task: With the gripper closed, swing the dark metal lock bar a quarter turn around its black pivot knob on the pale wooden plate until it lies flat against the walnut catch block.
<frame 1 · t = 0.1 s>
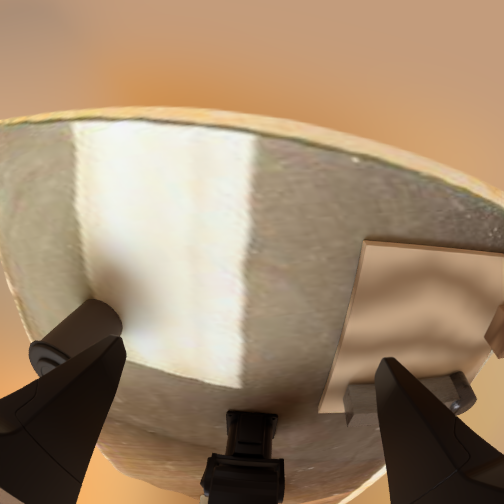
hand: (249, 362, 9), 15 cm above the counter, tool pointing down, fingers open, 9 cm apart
catch block: (497, 321, 24), resting on lock plate
lock plate: (430, 341, 26), on the counter
coffee cup: (102, 318, 29), on the counter
can: (218, 498, 54), on the counter
swing bar: (416, 401, 26), point 4 cm above the counter, hinge at 0.0°
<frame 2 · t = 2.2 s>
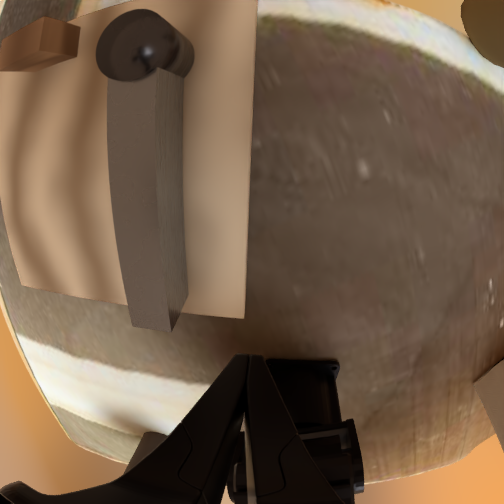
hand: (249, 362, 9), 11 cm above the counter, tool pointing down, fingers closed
catch block: (56, 49, 13), resting on lock plate
lock plate: (92, 159, 17), on the counter
coffee cup: (162, 440, 33), on the counter
paper towel roll: (499, 368, 24), on the counter
swing bar: (147, 176, 14), point 4 cm above the counter, hinge at 0.0°
squeeze bottle: (486, 31, 11), on the counter
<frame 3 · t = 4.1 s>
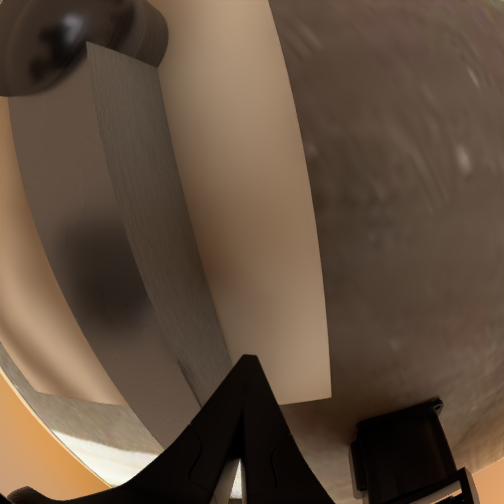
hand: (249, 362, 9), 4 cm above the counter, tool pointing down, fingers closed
lock plate: (61, 233, 11), on the counter
coffee cup: (241, 502, 26), on the counter
swing bar: (131, 260, 8), point 4 cm above the counter, hinge at -2.0°, touching gripper
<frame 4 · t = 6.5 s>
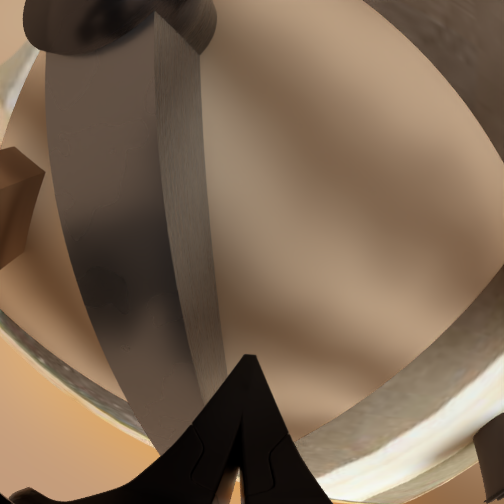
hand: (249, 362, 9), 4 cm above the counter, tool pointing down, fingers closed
catch block: (16, 201, 10), resting on lock plate
lock plate: (212, 253, 11), on the counter
coffee cup: (491, 425, 20), on the counter
swing bar: (149, 249, 7), point 4 cm above the counter, hinge at -51.4°, touching gripper
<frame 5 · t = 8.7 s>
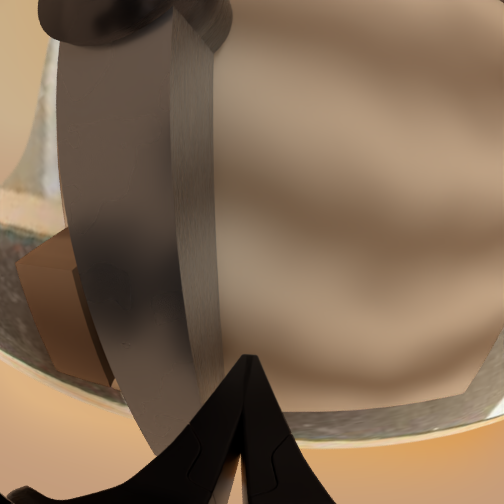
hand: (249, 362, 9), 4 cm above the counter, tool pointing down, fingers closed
catch block: (113, 271, 11), resting on lock plate
lock plate: (345, 201, 10), on the counter
swing bar: (154, 246, 7), point 4 cm above the counter, hinge at -87.9°, touching gripper
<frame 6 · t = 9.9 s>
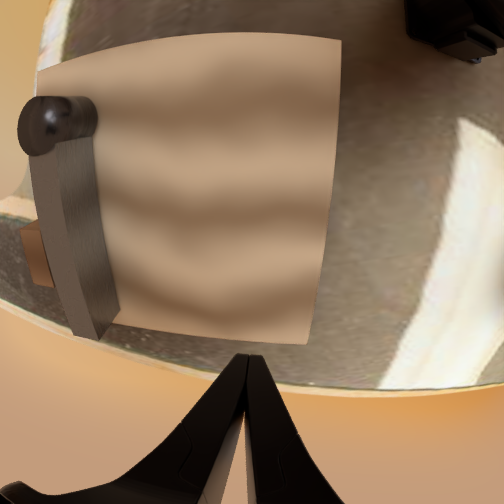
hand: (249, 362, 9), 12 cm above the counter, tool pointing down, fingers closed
catch block: (65, 237, 20), resting on lock plate
lock plate: (163, 198, 19), on the counter
swing bar: (69, 221, 17), point 4 cm above the counter, hinge at -88.1°
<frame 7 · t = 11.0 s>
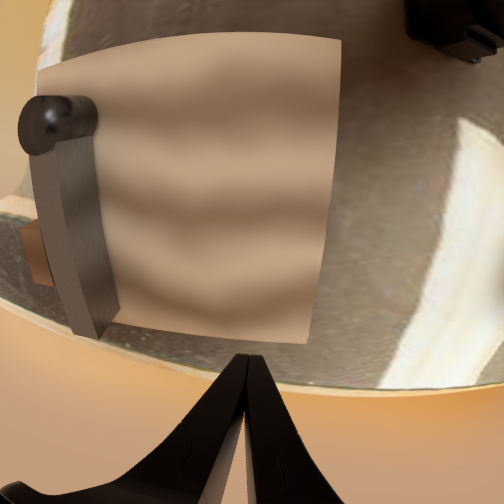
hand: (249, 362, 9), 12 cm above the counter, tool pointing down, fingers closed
catch block: (65, 236, 20), resting on lock plate
lock plate: (163, 197, 19), on the counter
swing bar: (69, 220, 17), point 4 cm above the counter, hinge at -88.1°
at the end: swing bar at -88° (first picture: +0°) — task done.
